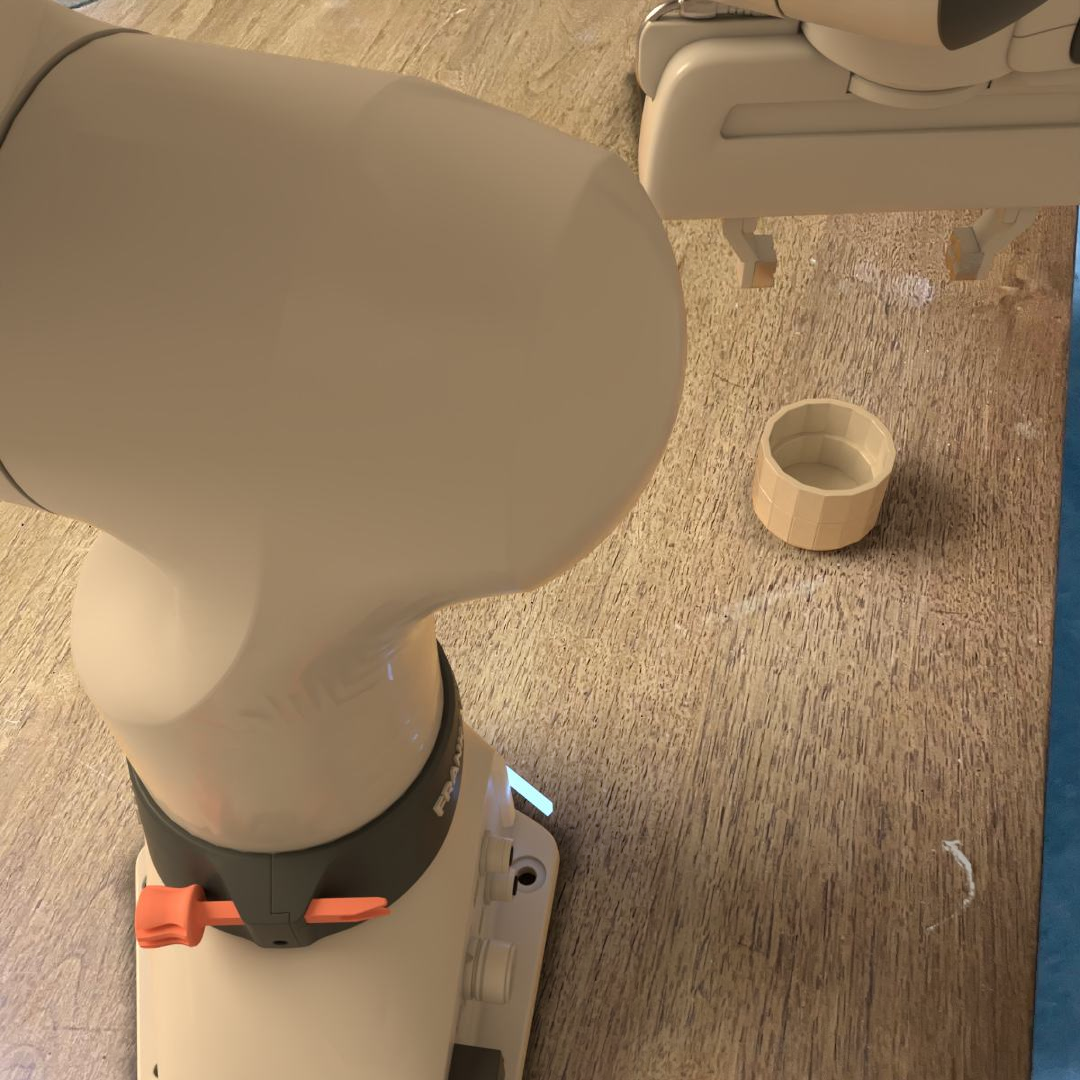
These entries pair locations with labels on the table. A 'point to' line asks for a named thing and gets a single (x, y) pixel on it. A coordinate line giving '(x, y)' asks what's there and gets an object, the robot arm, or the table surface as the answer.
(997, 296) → the table surface
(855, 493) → the bowl
